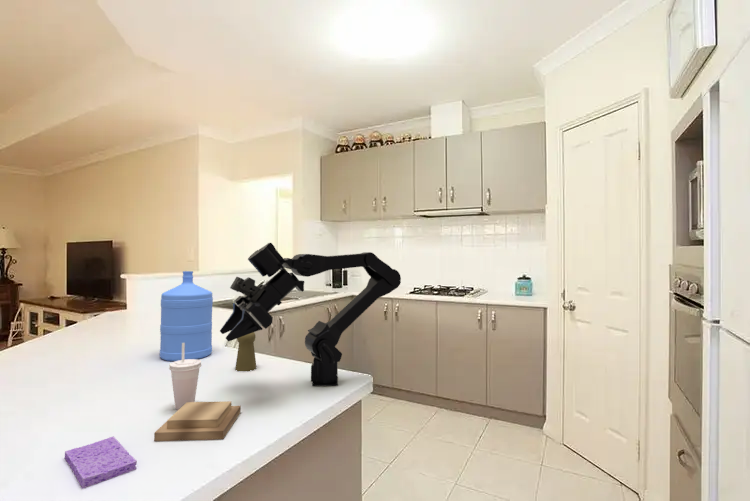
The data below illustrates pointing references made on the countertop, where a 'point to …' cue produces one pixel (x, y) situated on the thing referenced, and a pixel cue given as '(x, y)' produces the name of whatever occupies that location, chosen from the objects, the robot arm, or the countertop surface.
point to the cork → (246, 353)
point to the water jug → (186, 321)
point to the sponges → (99, 461)
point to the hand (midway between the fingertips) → (223, 336)
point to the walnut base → (198, 431)
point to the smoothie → (184, 379)
